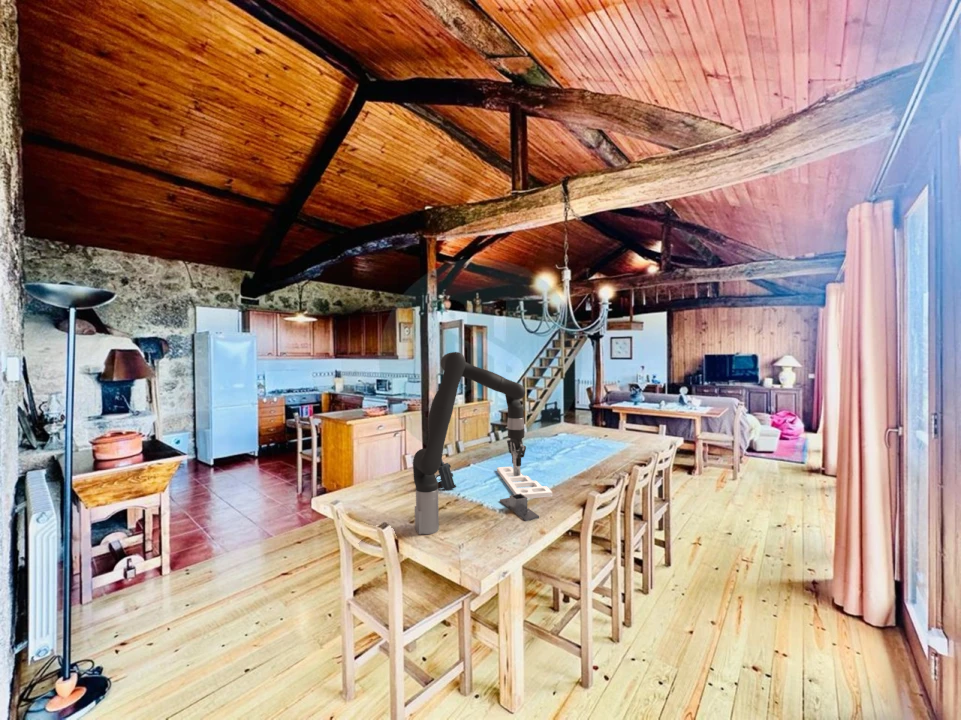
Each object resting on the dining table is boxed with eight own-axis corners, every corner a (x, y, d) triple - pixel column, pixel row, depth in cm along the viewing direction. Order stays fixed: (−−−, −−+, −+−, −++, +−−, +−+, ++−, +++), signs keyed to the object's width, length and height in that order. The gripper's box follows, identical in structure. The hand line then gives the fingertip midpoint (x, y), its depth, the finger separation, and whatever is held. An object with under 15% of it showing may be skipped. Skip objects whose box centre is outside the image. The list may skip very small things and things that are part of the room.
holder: (496, 471, 245) (496, 467, 244) (525, 469, 248) (525, 465, 248) (517, 500, 200) (517, 495, 200) (552, 497, 204) (552, 492, 204)
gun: (419, 464, 212) (447, 455, 215) (428, 494, 214) (456, 485, 216) (420, 466, 210) (448, 457, 212) (429, 496, 211) (456, 487, 214)
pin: (515, 476, 182) (515, 452, 182) (512, 474, 185) (511, 450, 185) (521, 475, 184) (521, 451, 183) (518, 473, 187) (517, 449, 186)
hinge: (525, 521, 176) (525, 507, 176) (499, 501, 198) (499, 489, 197) (539, 518, 179) (539, 504, 179) (512, 499, 201) (512, 487, 200)
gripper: (501, 425, 188) (502, 461, 189) (516, 431, 175) (517, 470, 176) (515, 423, 191) (516, 459, 192) (531, 429, 178) (531, 467, 179)
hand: (516, 464), depth 184 cm, fingers closed on pin, 3 cm apart
